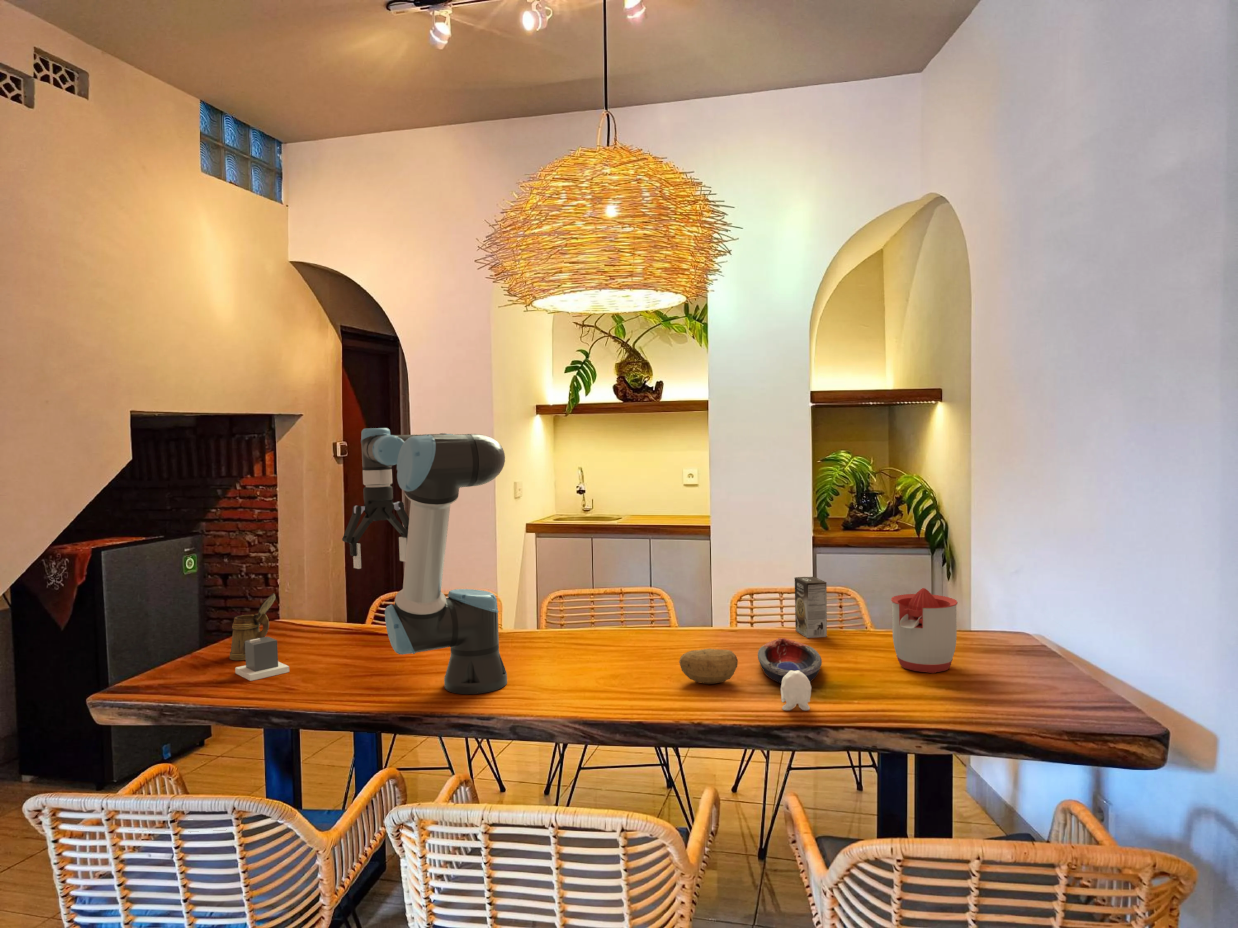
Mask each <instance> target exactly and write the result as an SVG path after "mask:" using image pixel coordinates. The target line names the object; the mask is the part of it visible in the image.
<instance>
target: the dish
mask: <svg viewBox="0 0 1238 928" xmlns="http://www.w3.org/2000/svg"><path fill="white" fill-rule="evenodd" d="M757 660H758V662H759V665H760V667H761V669H762V671H763V672H764V674H765V675H766V676H767V677H768V678H769V679H771V680H773V681H775V682H777V683H779V684H782V679H783V677H784V676H785V675H786V674H787V673H788V672H789V671H791V670H792V671H797V670H799V671H800V672H802V673H803V674H804V675H806V677H807V678H808V680H809V681H810V682H812V681H813V680H814V679H815V678H816V677H817V676H818V674H819V673H820V670H821V667H822V665H823V664H822V663H823V661H822V660H823V659H822V657H821V655H820V654H819V652H818V650H817V649H815V648H814V647H812V646H810V645H808V644H805V643H802V642H799V641H796V640H792V639H789V638H785V637H782V638H781V637H778V638H777V639H774V640H771V641H769V642H766V643H765V644H763V645H762V646H760V648H759V649H758V651H757Z"/></svg>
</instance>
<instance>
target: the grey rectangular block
mask: <svg viewBox="0 0 1238 928" xmlns="http://www.w3.org/2000/svg"><path fill="white" fill-rule="evenodd" d="M278 653H279V652H278V640H277V639H276V638H273V637H271V636H265V637H263V638H257V639H252V640H247V641H245V656H246V660H245V665H246V668H248V669H250V670H252V671H254V672H256V671H261V670H265V669H270V668H274V667H278V662H279V657H278V656H279V654H278Z"/></svg>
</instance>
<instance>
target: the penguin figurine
mask: <svg viewBox="0 0 1238 928" xmlns="http://www.w3.org/2000/svg"><path fill="white" fill-rule="evenodd" d="M780 695H781V698H780V699H781V702H782V703H784V702H786V703H785V704H784V705H782V707H781V709H782V711H792V710H793V709H795V708H796V706H797V705H798V708H799V709H801V710H802V711H810V708H811V706H810V705H809V703H810V702H811V696H812V685H811V681H809V680H808V678H807V677H806V675H804V674H803V673H802V672H800V671H799V670H797V671H792V670H791V671H789V672H788V673H787V674H786V675H785V676H784V677H783V679H782V683H781V685H780Z"/></svg>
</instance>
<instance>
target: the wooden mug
mask: <svg viewBox="0 0 1238 928" xmlns="http://www.w3.org/2000/svg"><path fill="white" fill-rule="evenodd" d="M276 597H277V596H276V594H275V592H273V593H272V594H270V595H269V596H268V597H267V598H266V599H264V601H263V602H262V604H261V605H260V606H259V608H258V611H257V612H258V613H255V614H241V615H237V616H235V617H234V618H233V623H232V626H231V629H232V636H231V637H232V639H231V644H230V645H231V648H230V651H229V660H231V661H246V656H245V641H247V640H252V639H257V638H263V637H267V634H268V631H269V628H270V622H269V620H270V619H269V618H268V616H267V614H266V613H267V612H268V611H269V609H270V608H271V607H272V605H273V604H274V602H275V601H276ZM261 625H262V629H260V627H261Z"/></svg>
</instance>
